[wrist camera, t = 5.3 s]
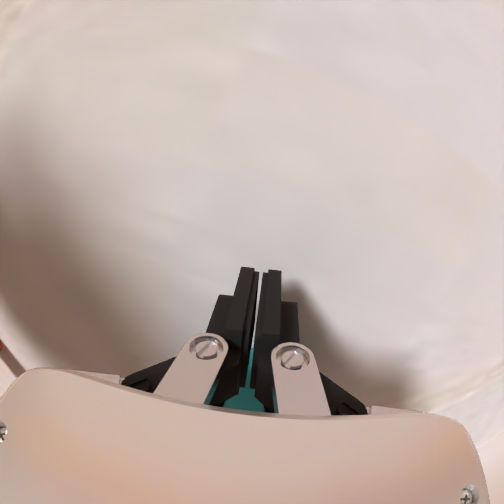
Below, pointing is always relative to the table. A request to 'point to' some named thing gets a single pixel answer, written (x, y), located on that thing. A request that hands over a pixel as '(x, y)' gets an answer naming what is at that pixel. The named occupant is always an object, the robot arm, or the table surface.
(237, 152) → the table surface
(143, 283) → the table surface
